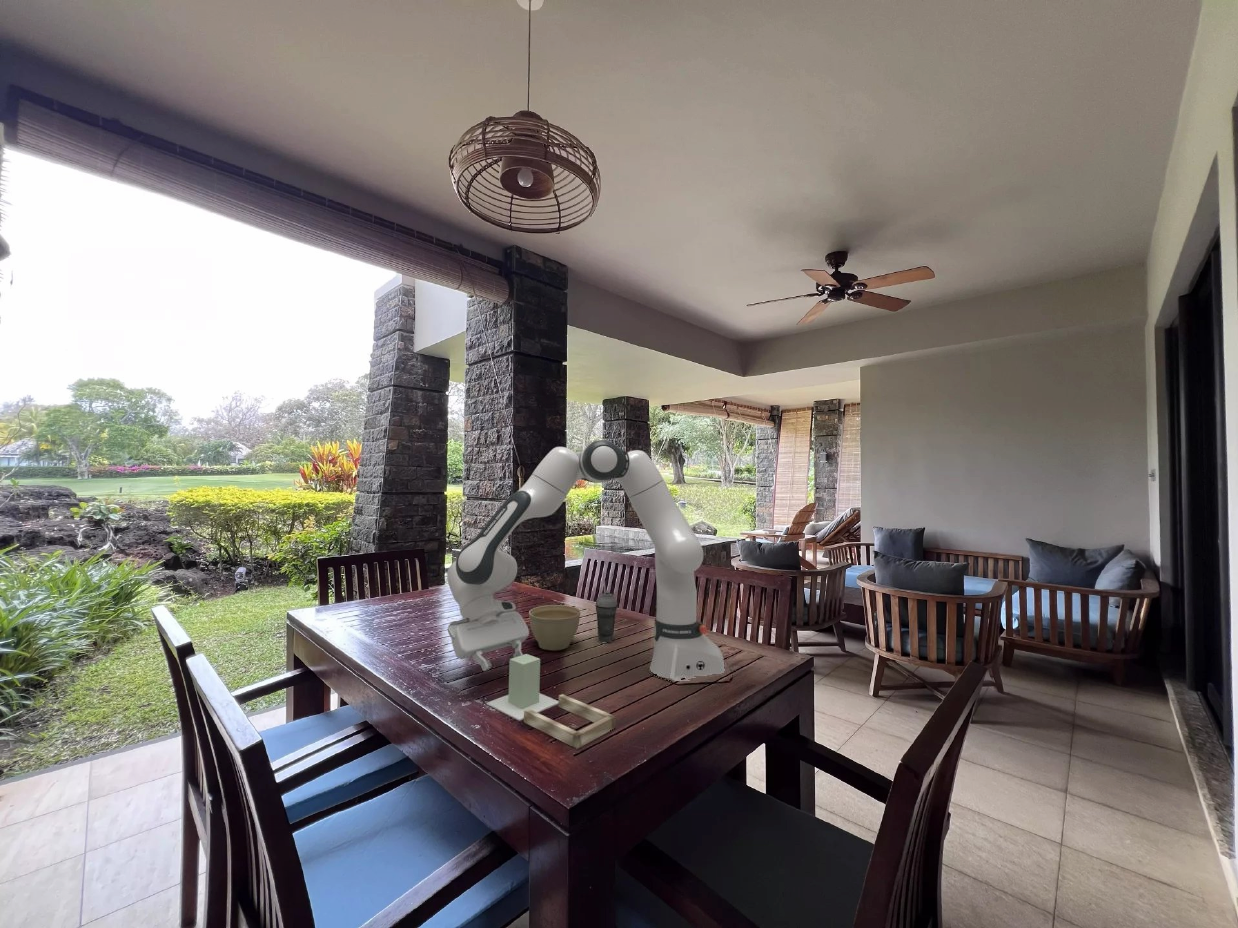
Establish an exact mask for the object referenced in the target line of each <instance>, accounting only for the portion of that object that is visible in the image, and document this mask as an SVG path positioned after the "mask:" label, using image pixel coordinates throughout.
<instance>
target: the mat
mask: <svg viewBox="0 0 1238 928" xmlns="http://www.w3.org/2000/svg"><path fill="white" fill-rule="evenodd" d="M508 697H509V694H507V695H503V696H501V697H498V698H495V699H493V700H490V701H488V702H486V703H485V704H486V705H487V706H489V707H491V708H493V709H495V710H496V711H499V712H501V713H503V714H505V715H506V716H509V717H511V718H513V719H514V720H517V721H518V722H520V721H522V720H523V721H524V710H526V709H530V710H533V711H535V712H537V713H539V714H540V713H541V712H543V711H546V710H547V709H550V708H552V707H555V706H558V704H559V700H556V699H554V698H552V697H550V696H547V695H545V694H542V693H540V692H539V702H538V703H536V704H533V705H531V706H529V707H526V708H524V709H521V708H519V707H516V706H514V705H512V704H510V703H508Z"/></svg>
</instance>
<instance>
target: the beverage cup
mask: <svg viewBox="0 0 1238 928" xmlns="http://www.w3.org/2000/svg"><path fill="white" fill-rule="evenodd" d="M602 581H603V593H601V594H600V595H599V596H598V597H597V599H596V600H595V601H596V602H595V605H594V606H595V612H596V620H597V621H596V623H597V624H596V625H597V636H598V637H597V638H598V642H599V641H601V642H610V641H612V642H613V640H614V639H613V638H614V632H615V631H614V630H615V622H616V614H617V609H618V601H617V599H616V597H615V596H614V594H613V593H610V592H606V590H607V589H606V579H605V578H603V580H602Z"/></svg>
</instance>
